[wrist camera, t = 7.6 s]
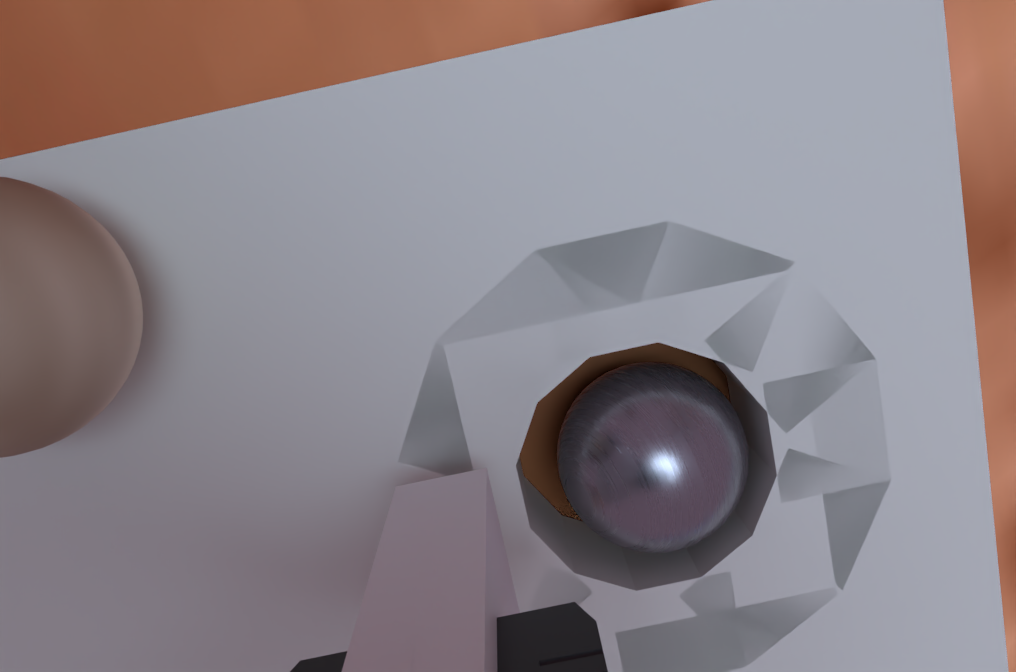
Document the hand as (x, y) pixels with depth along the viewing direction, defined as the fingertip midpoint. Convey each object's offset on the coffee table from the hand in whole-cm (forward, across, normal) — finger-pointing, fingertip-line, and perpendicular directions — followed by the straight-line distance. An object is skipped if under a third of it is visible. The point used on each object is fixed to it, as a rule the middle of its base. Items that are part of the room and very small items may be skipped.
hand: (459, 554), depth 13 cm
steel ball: (+2, +4, 0) cm, 4 cm away
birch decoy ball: (-1, -6, +5) cm, 8 cm away
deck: (+4, -4, 0) cm, 5 cm away
